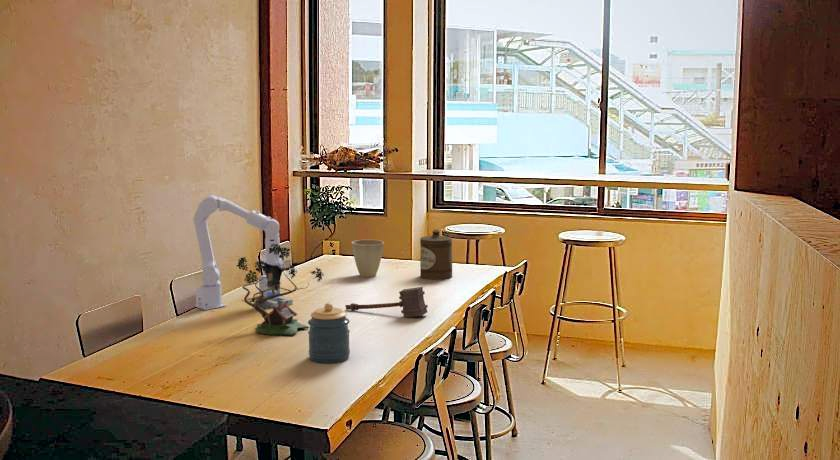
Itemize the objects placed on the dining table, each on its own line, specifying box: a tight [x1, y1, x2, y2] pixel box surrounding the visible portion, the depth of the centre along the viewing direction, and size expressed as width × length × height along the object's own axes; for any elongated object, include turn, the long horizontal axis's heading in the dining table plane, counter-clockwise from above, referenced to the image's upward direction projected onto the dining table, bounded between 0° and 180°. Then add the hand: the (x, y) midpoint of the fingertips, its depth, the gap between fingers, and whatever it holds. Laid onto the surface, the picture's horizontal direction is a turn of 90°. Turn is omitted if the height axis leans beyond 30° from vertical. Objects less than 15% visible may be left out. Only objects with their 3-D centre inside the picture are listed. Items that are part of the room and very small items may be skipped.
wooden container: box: [419, 229, 453, 281], centre depth 395 cm, size 15×15×22 cm
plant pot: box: [351, 239, 385, 278], centre depth 397 cm, size 15×15×16 cm
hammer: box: [345, 286, 428, 319], centre depth 326 cm, size 7×33×10 cm, turn 69°
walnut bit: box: [268, 273, 281, 290], centre depth 340 cm, size 3×3×6 cm
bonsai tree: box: [235, 243, 325, 337], centre depth 296 cm, size 35×24×32 cm
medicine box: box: [258, 274, 281, 298], centre depth 358 cm, size 8×4×9 cm, turn 143°
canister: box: [307, 302, 351, 364], centre depth 268 cm, size 13×13×18 cm
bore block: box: [267, 296, 294, 309], centre depth 341 cm, size 9×9×2 cm
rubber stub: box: [258, 297, 268, 311], centre depth 334 cm, size 3×3×4 cm
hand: (273, 283), depth 340 cm, fingers closed on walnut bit, 3 cm apart
